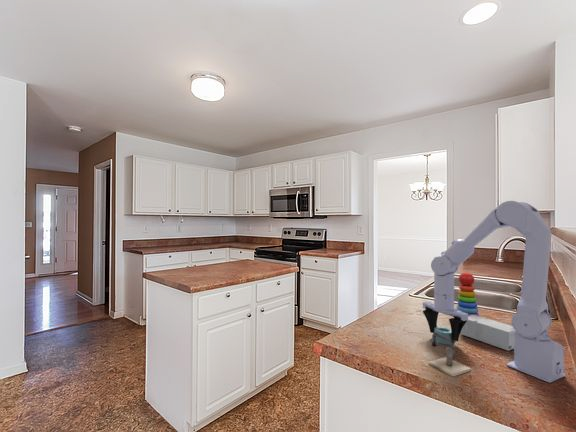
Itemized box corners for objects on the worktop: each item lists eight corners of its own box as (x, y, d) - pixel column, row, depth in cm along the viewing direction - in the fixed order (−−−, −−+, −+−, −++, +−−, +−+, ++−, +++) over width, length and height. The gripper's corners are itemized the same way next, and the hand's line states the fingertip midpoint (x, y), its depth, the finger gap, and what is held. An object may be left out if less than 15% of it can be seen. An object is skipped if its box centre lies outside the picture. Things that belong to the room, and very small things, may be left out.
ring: (456, 342, 94) (456, 331, 94) (445, 345, 91) (446, 333, 91) (441, 336, 98) (441, 325, 98) (431, 339, 96) (431, 328, 96)
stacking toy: (473, 318, 117) (473, 271, 117) (484, 326, 109) (484, 275, 109) (452, 317, 118) (452, 270, 118) (461, 325, 110) (462, 274, 110)
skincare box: (472, 314, 104) (522, 326, 91) (472, 331, 104) (522, 346, 91) (459, 317, 100) (510, 331, 87) (458, 335, 100) (510, 351, 87)
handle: (465, 358, 83) (465, 344, 83) (452, 362, 81) (452, 347, 81) (433, 344, 92) (433, 331, 92) (421, 347, 90) (421, 334, 90)
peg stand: (470, 370, 76) (470, 351, 76) (453, 376, 73) (453, 356, 73) (445, 358, 82) (445, 340, 82) (428, 364, 79) (428, 345, 79)
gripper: (474, 298, 90) (474, 342, 90) (432, 287, 103) (432, 326, 103) (459, 300, 87) (459, 346, 87) (418, 289, 100) (418, 330, 100)
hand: (443, 336), depth 95 cm, fingers open, 7 cm apart
